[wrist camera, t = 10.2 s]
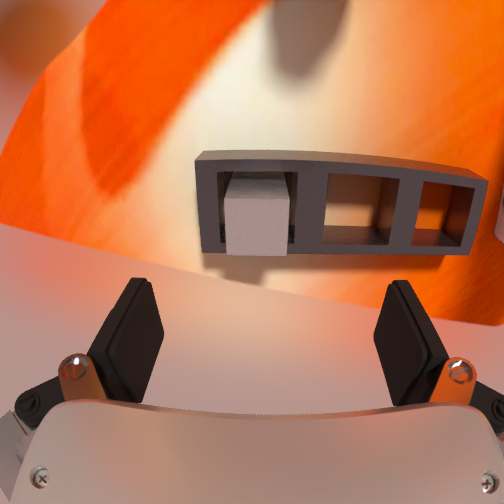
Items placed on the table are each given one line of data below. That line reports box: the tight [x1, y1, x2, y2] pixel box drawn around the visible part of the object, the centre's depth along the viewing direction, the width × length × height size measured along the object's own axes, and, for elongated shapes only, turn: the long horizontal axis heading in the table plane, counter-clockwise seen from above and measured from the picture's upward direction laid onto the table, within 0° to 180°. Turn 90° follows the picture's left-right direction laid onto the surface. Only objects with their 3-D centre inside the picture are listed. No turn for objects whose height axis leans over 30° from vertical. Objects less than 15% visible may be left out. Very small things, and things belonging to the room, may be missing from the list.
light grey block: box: [224, 171, 290, 256], centre depth 25 cm, size 4×4×8 cm
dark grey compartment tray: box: [195, 150, 489, 255], centre depth 27 cm, size 28×8×4 cm, turn 90°
